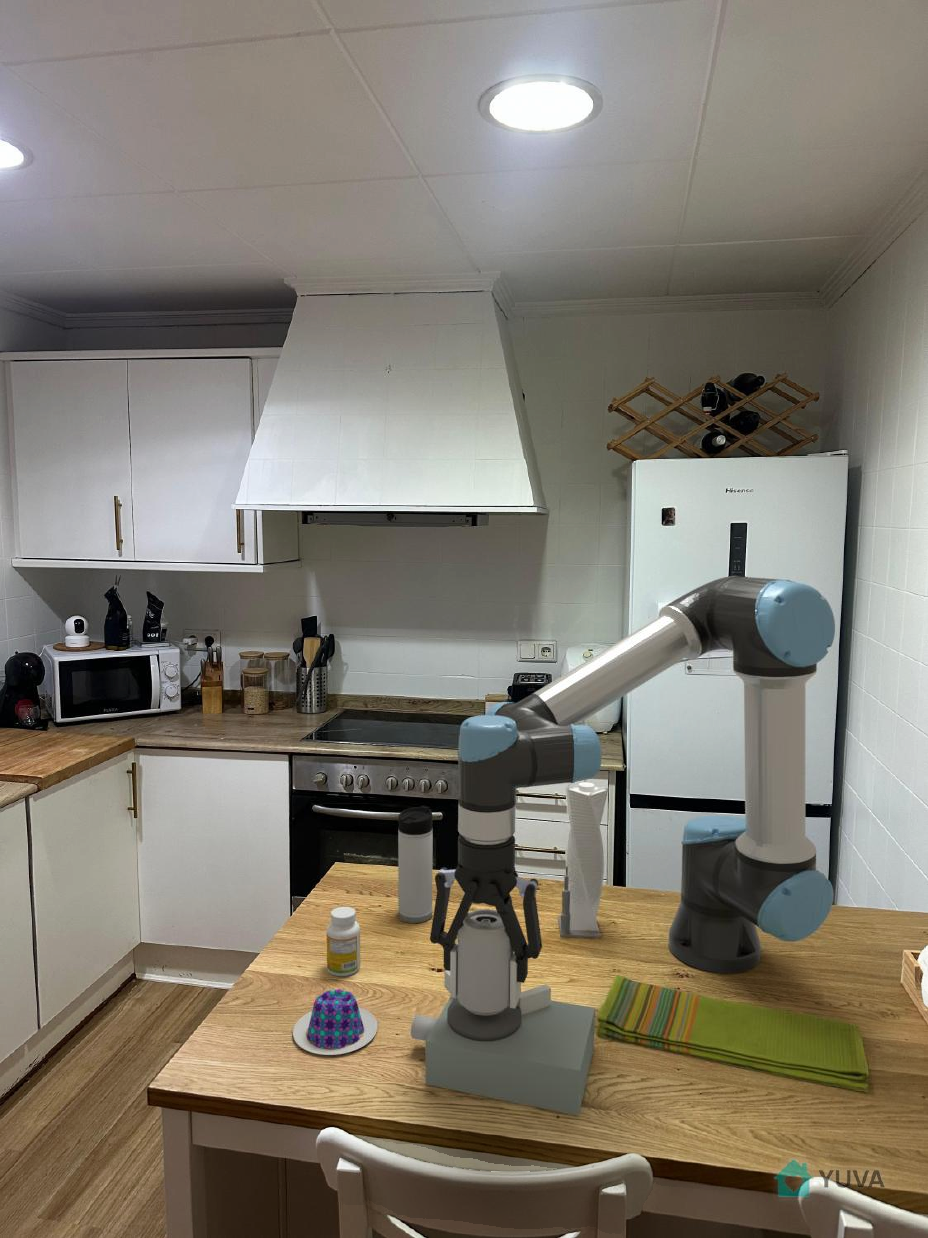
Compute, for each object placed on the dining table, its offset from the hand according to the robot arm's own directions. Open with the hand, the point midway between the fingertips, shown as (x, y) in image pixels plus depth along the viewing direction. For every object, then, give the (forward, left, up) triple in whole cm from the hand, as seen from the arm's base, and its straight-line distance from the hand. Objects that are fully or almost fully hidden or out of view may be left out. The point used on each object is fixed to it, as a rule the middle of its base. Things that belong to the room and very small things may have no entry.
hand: (485, 997), depth 114 cm
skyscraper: (-7, -42, -9) cm, 44 cm away
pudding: (+22, 0, -10) cm, 24 cm away
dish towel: (-32, -16, -10) cm, 37 cm away
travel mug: (+23, -37, -9) cm, 45 cm away
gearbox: (-2, 0, -9) cm, 9 cm away
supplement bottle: (+28, -16, -9) cm, 34 cm away
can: (0, 0, -1) cm, 1 cm away
